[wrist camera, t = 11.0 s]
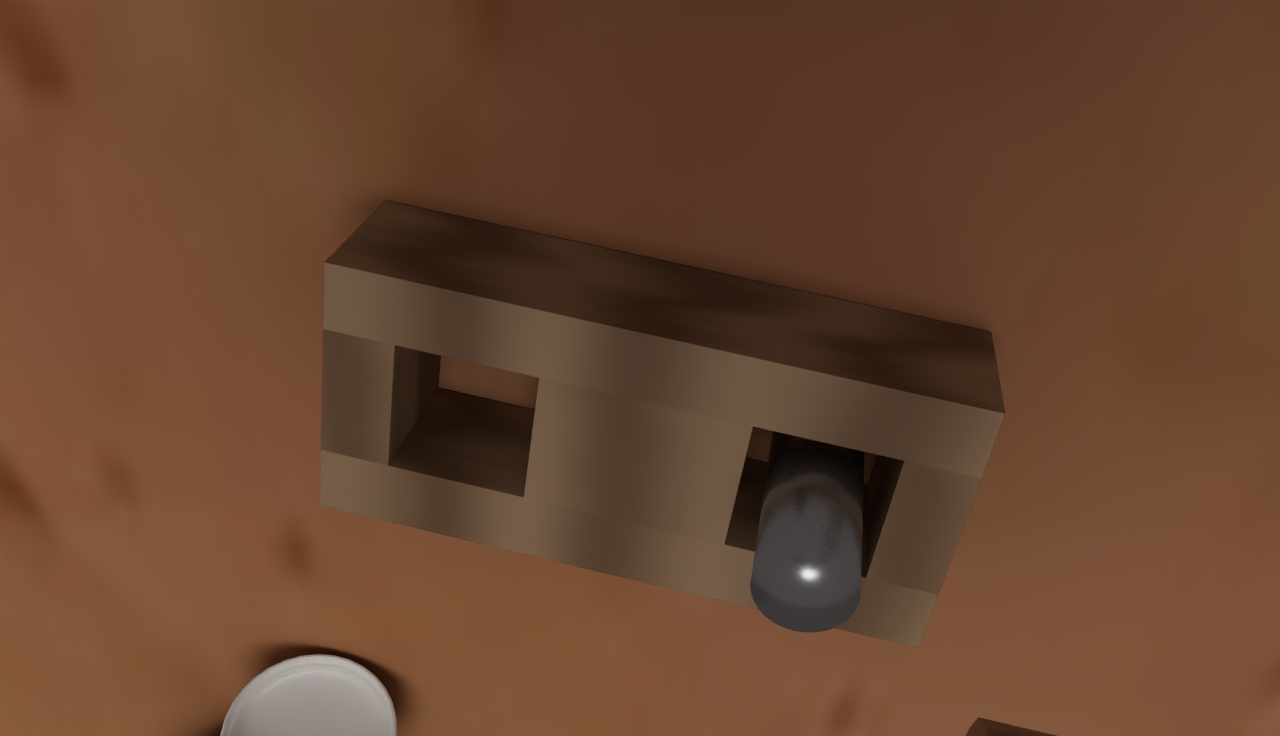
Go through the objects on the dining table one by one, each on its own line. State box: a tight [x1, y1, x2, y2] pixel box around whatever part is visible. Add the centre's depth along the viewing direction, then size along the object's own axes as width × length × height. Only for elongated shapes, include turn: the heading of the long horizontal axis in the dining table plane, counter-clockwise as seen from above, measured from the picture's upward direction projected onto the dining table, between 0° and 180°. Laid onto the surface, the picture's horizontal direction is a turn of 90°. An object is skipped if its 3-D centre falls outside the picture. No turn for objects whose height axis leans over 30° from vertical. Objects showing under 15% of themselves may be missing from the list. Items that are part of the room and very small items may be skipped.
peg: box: [750, 431, 864, 632], centre depth 36 cm, size 3×3×9 cm
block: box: [320, 201, 1005, 648], centre depth 38 cm, size 20×9×5 cm, turn 81°
